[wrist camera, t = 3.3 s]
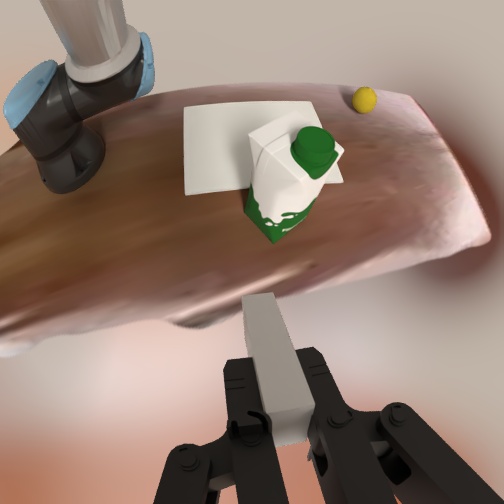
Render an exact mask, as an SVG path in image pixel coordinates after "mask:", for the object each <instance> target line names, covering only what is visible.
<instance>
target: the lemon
mask: <svg viewBox="0 0 504 504" xmlns="http://www.w3.org/2000/svg"><path fill="white" fill-rule="evenodd" d="M376 102H377V96H376V93H375V92H374V91H373V90H372V89H371V88H369V87H361V88H359V89H358V90H357V91H356V92H355V93H354V96H353V98H352V104H353V106H354V108H355V109H356V110H357V111H358V112H359V113H369V112H371V111H372V110H373V109H374V107H375V105H376Z"/></svg>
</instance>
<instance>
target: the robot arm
mask: <svg viewBox="0 0 504 504" xmlns="http://www.w3.org/2000/svg"><path fill="white" fill-rule="evenodd" d="M40 2H41V4H42V6H43V8H44V10H45V12H46V14H47V16H48V18H49V20H50V21H51V23H52V25H53V27H54V29H55V31H56V33H57V34H58V36H59V38H60V40H61V42H62V43H63V45H64V47H65V49H66V50H67V52H68V54H67V57H66V60H65V63H63V64H61V65H58V64H57V62H55V61H54V60H48V61H44V62H43V63H41V64H39V65H37V66H36V67H35V68H33V69H32V70H31V71H29V72H28V73H27V74H26V75H25V76H24V77H23V78H22V79H21V80H20V81H19V82H18V83H17V84H16V85H15V86H14V88H13V89H12V90H11V92H10V93H9V95H8V96H7V98H6V101H5V103H4V106H3V114H4V116H5V118H6V120H7V122H8V123H9V125H10V128H11V129H13V131H14V132H15V134H17V136H18V138H19V139H20V140H21V142H22V143H23V144H24V146H25V147H26V148H27V149H28V151H29V152H30V153H31V154H32V156H33V157H34V158H35V160H36V163H37V166H38V169H39V173H40V175H41V179H42V181H43V183H44V184H45V185H46V187H47V188H48V189H49V190H50V191H52V192H53V193H57V194H64V193H68V192H71V191H74V190H76V189H77V188H79V187H81V186H82V185H84V184H85V183H86V182H87V181H88V180H89V179H90V178H91V177H92V176H93V175H94V174H95V173H96V172H97V170H98V169H99V167H100V165H101V163H102V161H103V159H104V155H105V146H104V143H103V141H102V139H101V137H100V136H99V134H98V133H97V132H95V131H94V130H92V129H91V128H90V127H89V126H88V125H87V124H85V123H84V122H83V120H85V119H87V118H89V117H91V116H93V115H96V114H98V113H100V112H103V111H105V110H107V109H110V108H112V107H115V106H117V105H120V104H123V103H125V102H128V101H134V100H135V99H137V98H138V97H141V96H143V95H146V94H148V93H149V92H150V91H151V90H152V88H153V86H154V76H155V71H154V65H153V62H154V61H153V52H152V47H151V43H150V40H149V37H148V35H147V34H146V33H143V32H142V33H139V32H137V30H136V29H135V28H134V27H132V26H130V25H128V24H126V19H125V14H124V9H123V3H122V0H40ZM242 308H243V320H244V333H245V341H246V347H247V352H248V358H240V359H231V360H227V362H226V364H225V367H224V369H223V372H224V383H225V394H226V404H227V413H228V420H227V427H226V428H227V430H226V432H225V433H224V435H223V436H222V437H220V438H219V439H217V440H215V441H213V442H211V443H208V444H205V445H202V446H198V445H195V444H182V445H179V446H177V447H175V448H174V449H173V450H171V452H170V453H169V455H168V457H167V460H166V464H165V467H164V470H163V473H162V477H161V479H160V483H159V486H158V489H157V493H156V496H155V499H154V503H153V504H218V503H219V497H220V492H221V489H224V488H227V487H229V486H232V485H236V492H237V498H238V504H289V501H288V497H287V493H286V489H285V486H284V481H283V477H282V473H281V470H280V465H279V461H278V457H277V453H276V449H275V447H279V446H285V445H289V444H295V443H300V442H304V441H306V440H307V436H308V438H309V442H310V444H311V446H310V450H309V453H308V456H307V458H308V461H310V460H311V459H312V462H313V465H314V468H315V471H316V474H317V478H318V481H319V484H320V487H321V491H322V494H323V497H324V500H325V503H326V504H398V503H397V501H396V499H395V496H396V497H397V498H398V499H399V501H400V502H401V503H402V504H504V500H503V499H502V498H501V497H500V496H498V495H497V494H496V493H495V492H494V491H493V490H492V488H491V487H490V486H488V484H487V483H485V481H484V480H483V479H482V478H481V477H480V476H479V475H478V474H477V473H476V472H475V471H474V470H473V469H472V468H471V467H470V466H469V465H468V464H467V463H466V462H465V461H464V460H463V459H462V458H461V457H460V456H459V455H458V454H457V453H456V452H455V451H454V450H453V449H452V448H451V447H450V446H449V445H448V444H447V443H445V441H444V440H443V439H442V438H441V437H440V436H439V435H438V434H437V433H436V432H435V431H434V430H433V429H432V428H431V427H430V426H429V425H428V424H427V423H426V422H425V421H424V420H423V419H422V418H421V417H420V416H419V415H418V414H417V413H416V412H415V411H414V410H413V409H412V408H411V407H409V406H408V405H406V404H404V403H400V402H395V403H391V404H388V405H387V406H386V407H385V408H384V409H383V410H382V411H372V412H371V411H369V412H364V411H358V410H354V409H352V408H351V407H349V406H348V405H347V404H346V403H345V401H344V400H343V398H342V396H341V394H340V391H339V390H338V387H337V385H336V383H335V381H334V379H333V376H332V375H331V373H330V370H329V368H328V366H327V365H326V362H325V360H324V357H323V355H322V354H321V353H320V352H319V351H318V350H316V349H315V348H314V347H309V348H303V349H298V350H295V349H294V347H293V344H292V342H291V339H290V336H289V333H288V331H287V328H286V325H285V323H284V320H283V318H282V315H281V312H280V310H279V307H278V305H277V302H276V299H275V297H274V294H273V292H271V293H263V294H254V295H245V296H242ZM394 495H395V496H394Z"/></svg>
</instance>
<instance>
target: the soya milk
mask: <svg viewBox="0 0 504 504" xmlns="http://www.w3.org/2000/svg"><path fill="white" fill-rule="evenodd" d="M248 136H249V142H250V147H251V153H252V159H253V164H252V172H251V180H250V188H249V193H248V197H247V202H246V206H245V210H244V213H245V214H246V215H247V216H248V217H249V218H250V219H251V220H252V221H253V222H254V223H255V224H256V225H257V227H258V228H259V229H260V230H261V231H262V232H263V233H264V234H265V235H266V236H267V237H268V239H269V240H270V241H271V242H272V243H273V244H274V243H275V242H277V241H278V240H279V239H280V238H282V237H283V236H284V235H285V234H287V233H288V232H289V231H290V230H292V229H293V228H294V227H295V226H297V225H298V224H299V223H300V222H302V221H303V220H304V219H305V218H306V216H307V215H308V213H309V211H310V209H311V207H312V205H313V204H314V202H315V200H316V198H317V196H318V194H319V192H320V190H321V188H322V186H323V185H324V183H325V181H326V179H327V177H328V176H329V174H330V172H331V171H332V169H333V168H334V166H335V164H336V163H337V161H338V160H339V158H340V157H341V155H342V153H343V152H344V149H343V148H342V147H341V146H340V145H339V144H338V143H337V142H336V141H335V140H334V138H333V137H332V135H331V134H330V133H329V132H327V131H326V130H324V129H322V128H320V127H318V126H317V125H316V124H315V123H314V122H312V121H309V120H308V119H307V118H305V117H304V116H303V115H302V114H300V113H299V112H298V111H296V110H295V111H293V112H290V113H288V114H286V115H284V116H282V117H280V118H278V119H276V120H274V121H272V122H270V123H268V124H266V125H264V126H262V127H260V128H258V129H257V130H255V131H253V132H251V133H249V134H248Z"/></svg>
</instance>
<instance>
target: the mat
mask: <svg viewBox="0 0 504 504" xmlns="http://www.w3.org/2000/svg"><path fill="white" fill-rule="evenodd" d="M295 110H296V111H298V112H299V113H300V114H302V115H303V116H304V117H305V118H307V119H308V120H309V121H312V122H314V123H315V124H316V125H317V126H318V127H320V128H322V126H321V123H320V121H319V119H318V117H317V114H316V112H315V110H314V108H313V105H312V103H311V102H303V101H254V102H233V103H219V104H208V105H199V106H190V107H184V179H185V195H192V194H201V193H209V192H218V191H228V190H238V189H249V188H250V180H251V172H252V164H253V159H252V153H251V147H250V142H249V136H248V134H249V133H251V132H253V131H255V130H257V129H258V128H260V127H262V126H264V125H266V124H268V123H270V122H272V121H274V120H276V119H278V118H280V117H282V116H284V115H286V114H288V113H290V112H293V111H295ZM322 129H323V128H322ZM325 183H343V179H342V176H341V173H340V171H339V168H338V165H337V163H336V164H335V166H334V168H333V169H332V171H331V172H330V174H329V176H328V177H327V179H326V181H325ZM325 183H324V184H325Z"/></svg>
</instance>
